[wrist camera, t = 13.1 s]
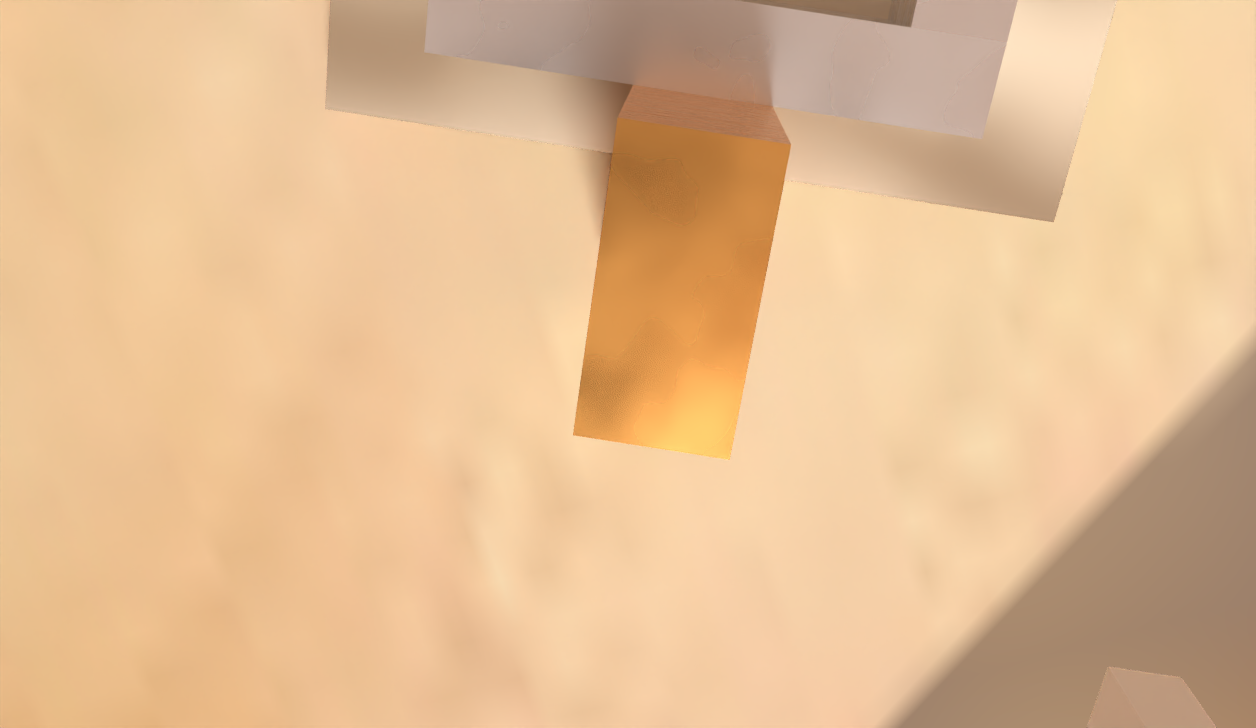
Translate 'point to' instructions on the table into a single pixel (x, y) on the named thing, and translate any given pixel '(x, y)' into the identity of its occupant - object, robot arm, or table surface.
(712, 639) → the table surface
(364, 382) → the table surface
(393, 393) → the table surface
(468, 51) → the square frame with handle
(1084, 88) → the board
